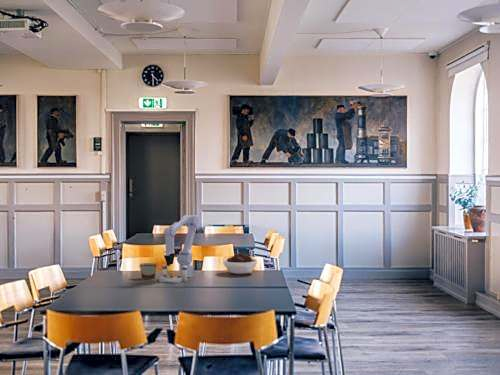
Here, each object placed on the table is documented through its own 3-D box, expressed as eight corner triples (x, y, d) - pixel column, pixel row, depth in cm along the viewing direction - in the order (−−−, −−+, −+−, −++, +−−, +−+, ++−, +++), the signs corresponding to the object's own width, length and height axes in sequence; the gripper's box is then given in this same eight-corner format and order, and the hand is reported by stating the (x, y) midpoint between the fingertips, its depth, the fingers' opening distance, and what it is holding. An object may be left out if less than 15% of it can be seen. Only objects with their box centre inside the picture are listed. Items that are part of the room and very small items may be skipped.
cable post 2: (185, 280, 400) (185, 265, 400) (188, 280, 398) (188, 266, 398) (181, 280, 398) (181, 266, 398) (184, 281, 396) (184, 266, 396)
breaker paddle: (170, 275, 398) (170, 271, 398) (174, 276, 397) (174, 271, 397) (169, 276, 397) (169, 272, 397) (173, 276, 396) (173, 272, 396)
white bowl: (216, 274, 427) (216, 253, 427) (235, 269, 448) (235, 250, 448) (245, 277, 414) (245, 255, 414) (263, 272, 435) (263, 252, 435)
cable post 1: (165, 279, 405) (165, 264, 405) (167, 279, 403) (167, 265, 403) (161, 279, 403) (161, 264, 403) (163, 280, 401) (163, 265, 400)
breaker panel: (163, 280, 401) (163, 274, 401) (182, 281, 396) (182, 275, 396) (159, 281, 394) (159, 276, 394) (178, 282, 390) (178, 277, 390)
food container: (159, 277, 412) (159, 263, 412) (156, 278, 406) (156, 264, 406) (141, 277, 413) (141, 262, 413) (139, 278, 407) (139, 264, 407)
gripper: (166, 243, 409) (166, 263, 409) (161, 246, 394) (161, 266, 395) (176, 243, 408) (176, 263, 408) (171, 246, 394) (171, 266, 394)
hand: (169, 264), depth 401 cm, fingers open, 7 cm apart
